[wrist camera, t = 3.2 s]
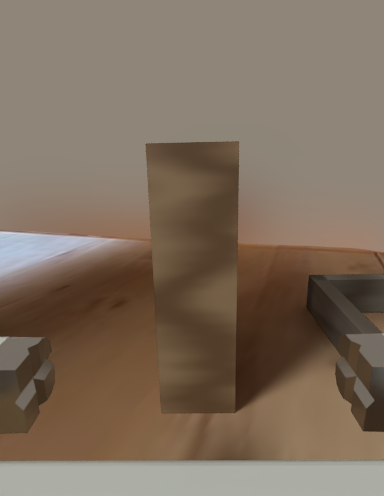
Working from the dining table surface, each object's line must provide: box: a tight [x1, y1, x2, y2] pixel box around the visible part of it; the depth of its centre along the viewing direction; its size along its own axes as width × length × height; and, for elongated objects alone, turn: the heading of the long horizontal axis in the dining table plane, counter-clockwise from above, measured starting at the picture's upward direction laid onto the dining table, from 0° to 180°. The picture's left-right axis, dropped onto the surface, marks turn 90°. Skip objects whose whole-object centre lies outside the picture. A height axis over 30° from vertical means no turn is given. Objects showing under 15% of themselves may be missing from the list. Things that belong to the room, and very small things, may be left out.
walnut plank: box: [146, 141, 239, 413], centre depth 21 cm, size 4×10×14 cm, turn 179°
